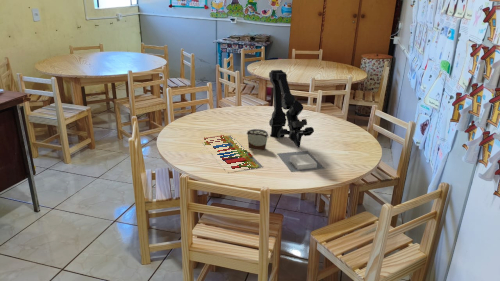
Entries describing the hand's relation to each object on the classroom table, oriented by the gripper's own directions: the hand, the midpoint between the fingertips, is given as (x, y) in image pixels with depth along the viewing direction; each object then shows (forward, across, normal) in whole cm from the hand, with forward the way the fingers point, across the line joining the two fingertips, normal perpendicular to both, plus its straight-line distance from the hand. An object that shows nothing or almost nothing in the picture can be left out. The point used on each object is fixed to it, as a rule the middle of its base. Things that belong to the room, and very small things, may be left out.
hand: (298, 147), depth 186 cm
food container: (-8, -16, +18) cm, 26 cm away
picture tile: (+4, 0, +3) cm, 5 cm away
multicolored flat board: (-6, -33, +16) cm, 38 cm away
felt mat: (+7, 0, +3) cm, 7 cm away
